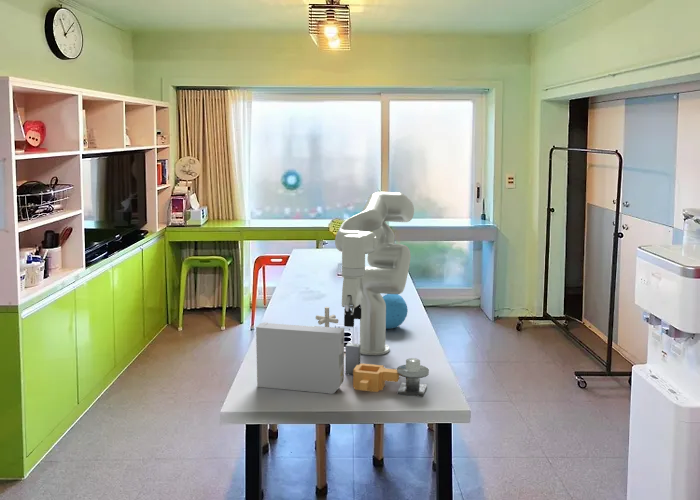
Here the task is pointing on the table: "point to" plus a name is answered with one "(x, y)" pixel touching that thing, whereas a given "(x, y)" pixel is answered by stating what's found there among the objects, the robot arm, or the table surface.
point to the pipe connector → (326, 318)
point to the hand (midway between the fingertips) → (352, 322)
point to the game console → (300, 357)
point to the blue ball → (395, 310)
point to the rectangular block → (352, 357)
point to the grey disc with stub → (412, 378)
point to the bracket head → (372, 377)
